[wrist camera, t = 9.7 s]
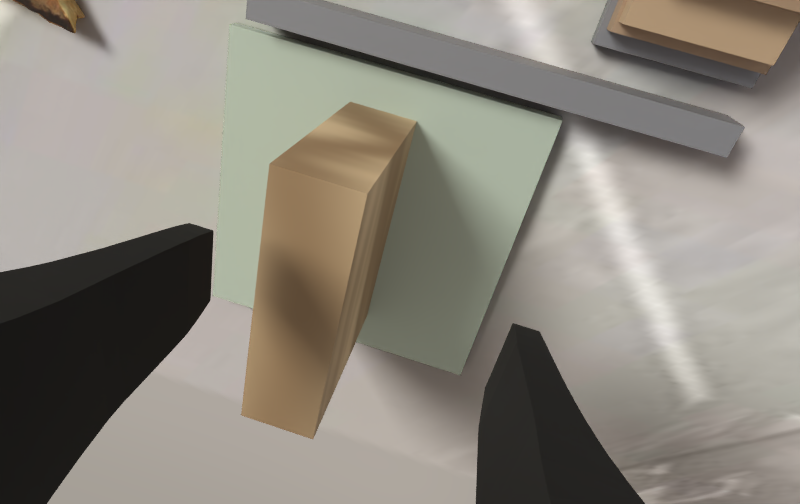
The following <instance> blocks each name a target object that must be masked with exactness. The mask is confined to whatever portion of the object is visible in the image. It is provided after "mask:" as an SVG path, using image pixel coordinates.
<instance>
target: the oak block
mask: <svg viewBox="0 0 800 504" xmlns="http://www.w3.org/2000/svg"><path fill="white" fill-rule="evenodd" d="M416 122H417V121H414V120H411V119H408V118H404V117H401V116H397V115H394V114H391V113H387V112H384V111H380V110H377V109H374V108H370V107H367V106H364V105H360V104H357V103H353V102H349V103H348V104H346V105H345V106H344V107H342V108H341V109H340V110H338V111H337V112H336V113H335V114H333V115H332V116H331V117H329V118H328V119H327V120H326V121H324V122H323V123H322V124H320V125H319V126H318V127H316V128H315V129H314V130H313V131H311V132H310V133H309V134H307V135H306V136H305V137H303V138H302V139H301V140H300V141H298V142H297V143H296V144H294V145H293V146H292V147H290V148H289V149H288V150H287V151H285V152H284V153H283V154H281V155H280V156H279V157H278V158H276V159H275V160H274V161H272V162H271V163H270V164H269V172H268V180H267V189H266V198H265V207H264V216H263V225H262V234H261V243H260V252H259V261H258V270H257V279H256V288H255V297H254V306H253V315H252V323H251V332H250V341H249V350H248V359H247V368H246V377H245V386H244V395H243V404H242V413H241V415H242V416H245V417H248V418H251V419H254V420H257V421H260V422H263V423H266V424H269V425H272V426H275V427H278V428H281V429H284V430H287V431H290V432H293V433H296V434H299V435H302V436H305V437H308V438H310V439H313V438H314V436H315V434H316V431H317V429H318V427H319V424H320V422H321V420H322V418H323V415H324V413H325V411H326V408H327V406H328V404H329V402H330V399H331V397H332V395H333V392H334V390H335V388H336V386H337V383H338V381H339V379H340V377H341V374H342V372H343V370H344V367H345V365H346V363H347V361H348V358H349V356H350V354H351V351H352V349H353V347H354V345H355V342H356V340H357V338H358V336H359V333H360V331H361V329H362V326H363V324H364V322H365V320H366V317H367V314H368V310H369V306H370V302H371V298H372V294H373V290H374V287H375V283H376V279H377V275H378V271H379V267H380V263H381V259H382V255H383V251H384V247H385V244H386V240H387V236H388V232H389V228H390V224H391V220H392V216H393V212H394V208H395V204H396V200H397V197H398V193H399V189H400V185H401V181H402V177H403V173H404V169H405V165H406V161H407V157H408V153H409V150H410V146H411V142H412V138H413V134H414V130H415V126H416Z"/></svg>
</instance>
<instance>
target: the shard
mask: <svg viewBox="0 0 800 504" xmlns="http://www.w3.org/2000/svg"><path fill="white" fill-rule="evenodd" d="M13 1H15V2H17V3H19V4H21V5H23V6H26V7H27V8H28V9H29V10H32V11H34V12H36V13H38V14H39V15H41V16H42V17H43V18H44V19H46V20H47V21H48V22H49V23H53V24H55V25H58V26H60V27H62V28H64V29H66V30H68V31H70V32H72V33H76V21H77V18H84V17H85V16H84V14H83V12H82V11H81V9H80V7H79V6H78V4H77V3H76V1H75V0H13Z"/></svg>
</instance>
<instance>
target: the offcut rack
mask: <svg viewBox="0 0 800 504" xmlns="http://www.w3.org/2000/svg"><path fill="white" fill-rule="evenodd" d="M246 19H248V20H251V21H255V22H258V23H262V24H265V25H269V26H272V27H276V28H279V29H283V30H286V31H290V32H293V33H296V34H300V35H303V36H307V37H310V38H314V39H317V40H321V41H324V42H328V43H331V44H335V45H338V46H341V47H345V48H348V49H352V50H355V51H359V52H362V53H366V54H369V55H373V56H376V57H380V58H383V59H386V60H390V61H393V62H397V63H400V64H404V65H407V66H411V67H414V68H418V69H421V70H425V71H428V72H431V73H435V74H438V75H442V76H445V77H449V78H452V79H456V80H459V81H463V82H466V83H470V84H473V85H476V86H480V87H483V88H487V89H490V90H494V91H497V92H501V93H504V94H508V95H511V96H515V97H518V98H521V99H525V100H528V101H532V102H535V103H539V104H542V105H546V106H549V107H553V108H556V109H560V110H563V111H567V112H570V113H573V114H577V115H580V116H584V117H587V118H591V119H594V120H598V121H601V122H605V123H608V124H612V125H615V126H618V127H622V128H625V129H629V130H632V131H636V132H639V133H643V134H646V135H650V136H653V137H657V138H660V139H663V140H667V141H670V142H674V143H677V144H681V145H684V146H688V147H691V148H695V149H698V150H702V151H705V152H708V153H712V154H715V155H719V156H722V157H726V158H727V157H728V155H729V153H730V152H731V150H732V148H733V147H734V145H735V143H736V141H737V140H738V138H739V136H740V135H741V133H742V131H743V130H744V128H745V127H744V126H743V125H741V124H740V123H738V122H737V121H735V120H734V119H732V118H731V117H729V116H728V115H725V114H721V113H718V112H714V111H711V110H707V109H704V108H700V107H697V106H693V105H690V104H686V103H682V102H679V101H675V100H672V99H668V98H665V97H661V96H658V95H654V94H651V93H647V92H644V91H640V90H637V89H633V88H630V87H626V86H623V85H619V84H616V83H612V82H609V81H605V80H602V79H598V78H594V77H591V76H587V75H584V74H580V73H577V72H573V71H570V70H566V69H563V68H559V67H556V66H552V65H549V64H545V63H542V62H538V61H535V60H531V59H528V58H524V57H521V56H517V55H513V54H510V53H506V52H503V51H499V50H496V49H492V48H489V47H485V46H482V45H478V44H475V43H471V42H468V41H464V40H461V39H457V38H454V37H450V36H447V35H443V34H440V33H436V32H433V31H429V30H425V29H422V28H418V27H415V26H411V25H408V24H404V23H401V22H397V21H394V20H390V19H387V18H383V17H380V16H376V15H373V14H369V13H366V12H362V11H359V10H355V9H352V8H348V7H345V6H341V5H337V4H334V3H330V2H327V1H323V0H247V9H246ZM799 21H800V0H608V1H607V3H606V6H605V8H604V11H603V13H602V16H601V18H600V21H599V23H598V26H597V28H596V31H595V33H594V36H593V38H592V41H591V42H592V43H593V44H595V45H599V46H602V47H606V48H609V49H613V50H617V51H620V52H624V53H627V54H631V55H634V56H638V57H642V58H645V59H649V60H652V61H656V62H659V63H663V64H667V65H670V66H674V67H677V68H681V69H684V70H688V71H692V72H695V73H699V74H702V75H706V76H709V77H713V78H716V79H720V80H724V81H727V82H731V83H734V84H738V85H741V86H745V87H749V88H753V86H754V84H755V83H756V81H757V79H758V78H759V76H760V74H765V75H766V74H767V72H768V70H769V69H770V67H771V65H773V66H774V64H775V62H776V61H777V59H778V57H779V55H780V54H781V52H782V50H783V49H784V47H785V45H786V43H787V42H788V40H789V38H790V37H791V35H792V33H793V31H794V30H795V28H796V26H797V24H798V23H799Z"/></svg>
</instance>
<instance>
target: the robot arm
mask: <svg viewBox="0 0 800 504" xmlns="http://www.w3.org/2000/svg"><path fill="white" fill-rule="evenodd" d="M212 251H213V230H210V229H206V228H203V227H200V226H197V225H193V224H190V223H188V224H184V225H179V226H175V227H172V228H168V229H165V230H161V231H158V232H155V233H151V234H148V235H145V236H142V237H138V238H135V239H132V240H128V241H125V242H122V243H118V244H115V245H112V246H109V247H105V248H102V249H98V250H94V251H91V252H87V253H83V254H79V255H75V256H72V257H68V258H64V259H60V260H57V261H53V262H48V263H44V264H40V265H35V266H30V267H26V268H21V269H15V270H10V271H5V272H0V504H47V502H48V501H49V500H50V498H51V497H52V495H53V494H54V492H55V491H56V490H57V488H58V487H59V486H60V484H61V483H62V481H63V480H64V478H65V477H66V476H67V474H68V473H69V472H70V470H71V469H72V467H73V466H74V465H75V463H76V462H77V460H78V459H79V458H80V456H81V455H82V454H83V452H84V451H85V450H86V448H87V447H88V446H89V444H90V443H91V442H92V441H93V439H94V438H95V437H96V435H97V434H98V433H99V431H100V430H101V429H102V427H103V426H104V425H105V423H106V422H107V421H108V419H109V418H110V417H111V416H112V415H113V414H114V412H115V411H116V410H117V409H118V408H119V407H120V405H121V404H122V403H123V402H124V401H125V400H126V399H127V398H128V397H129V396H130V395H131V394H132V392H133V391H134V390H135V389H136V388H137V387H138V386H139V385H140V384H141V383H142V382H143V381H144V380H145V379H146V378H147V377H148V375H149V374H150V373H151V372H152V371H153V370H154V369H155V368H156V367H157V366H158V365H159V364H160V363H161V362H162V361H163V359H164V358H165V357H166V356H167V355H168V354H169V353H170V352H171V351H172V350H173V349H174V348H175V346H176V345H177V344H178V343H179V342H180V341H181V340H182V339H183V338H184V337H185V335H186V334H187V333H188V332H189V330H190V329H191V328H192V326H193V325H194V324H195V322H196V321H197V319H198V318H199V316H200V315H201V314H202V312H203V311H204V309H205V308H206V306H207V305H208V303H209V302H210V296H211V274H212ZM476 504H645V503H644V502H643V500H642V499H641V498H640V497H639V495H638V494H637V493H636V492H635V490H634V489H633V488H632V487H631V485H630V484H629V483H628V481H627V480H626V479H625V477H624V476H623V475H622V473H621V472H620V471H619V469H618V468H617V466H616V465H615V464H614V462H613V461H612V460H611V458H610V457H609V456H608V454H607V453H606V451H605V450H604V448H603V447H602V445H601V444H600V442H599V441H598V439H597V438H596V436H595V434H594V433H593V431H592V430H591V428H590V426H589V425H588V423H587V422H586V420H585V418H584V417H583V415H582V413H581V412H580V410H579V408H578V406H577V405H576V403H575V401H574V399H573V397H572V395H571V394H570V392H569V390H568V388H567V386H566V384H565V382H564V380H563V378H562V376H561V374H560V372H559V370H558V368H557V366H556V364H555V362H554V360H553V358H552V356H551V354H550V352H549V350H548V348H547V346H546V344H545V342H544V340H543V338H542V336H541V334H540V332H539V331H536V330H533V329H530V328H526V327H523V326H520V325H517V324H514V323H513V324H512V326H511V329H510V331H509V333H508V336H507V338H506V340H505V343H504V345H503V348H502V350H501V352H500V355H499V357H498V359H497V362H496V364H495V366H494V369H493V371H492V373H491V376H490V378H489V380H488V383H487V385H486V387H485V392H484V398H483V404H482V410H481V416H480V423H479V432H478V457H477V487H476Z"/></svg>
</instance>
